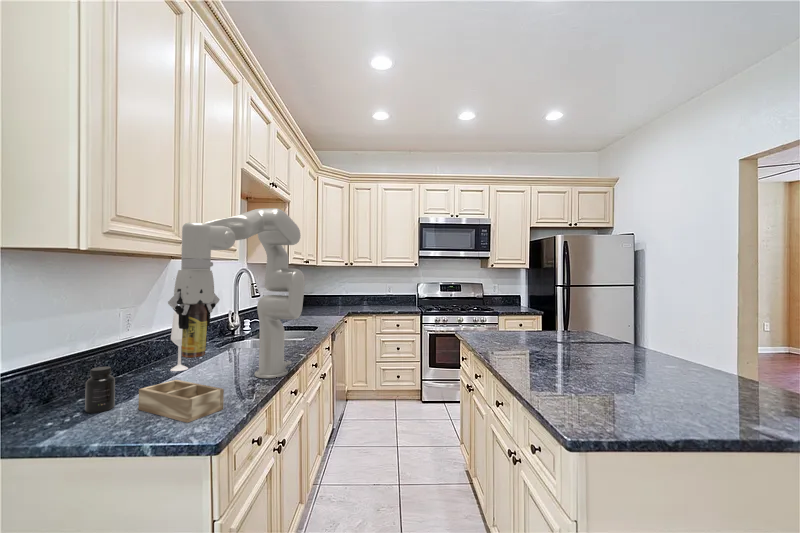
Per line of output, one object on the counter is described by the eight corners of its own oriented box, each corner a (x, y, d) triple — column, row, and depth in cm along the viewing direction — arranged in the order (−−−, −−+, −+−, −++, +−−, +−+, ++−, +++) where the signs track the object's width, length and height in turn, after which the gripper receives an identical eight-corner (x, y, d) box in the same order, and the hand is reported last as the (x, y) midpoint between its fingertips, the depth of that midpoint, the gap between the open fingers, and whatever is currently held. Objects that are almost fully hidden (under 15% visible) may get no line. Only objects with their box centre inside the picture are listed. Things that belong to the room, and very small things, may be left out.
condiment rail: (175, 398, 122) (176, 379, 122) (223, 409, 113) (223, 388, 113) (138, 409, 111) (138, 389, 112) (187, 422, 102) (187, 400, 102)
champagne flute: (173, 367, 161) (174, 310, 162) (190, 366, 163) (192, 310, 163) (167, 371, 155) (168, 312, 155) (185, 370, 156) (186, 312, 157)
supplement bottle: (83, 409, 112) (84, 368, 112) (112, 403, 116) (113, 364, 117) (86, 415, 107) (87, 372, 107) (116, 409, 111) (117, 368, 112)
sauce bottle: (176, 357, 109) (178, 288, 110) (197, 353, 115) (198, 287, 115) (190, 359, 106) (192, 288, 107) (211, 355, 112) (212, 288, 112)
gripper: (213, 266, 120) (211, 323, 120) (158, 264, 105) (156, 330, 104) (229, 266, 117) (228, 324, 117) (175, 264, 102) (174, 332, 101)
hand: (194, 326), depth 111 cm, fingers closed on sauce bottle, 6 cm apart
